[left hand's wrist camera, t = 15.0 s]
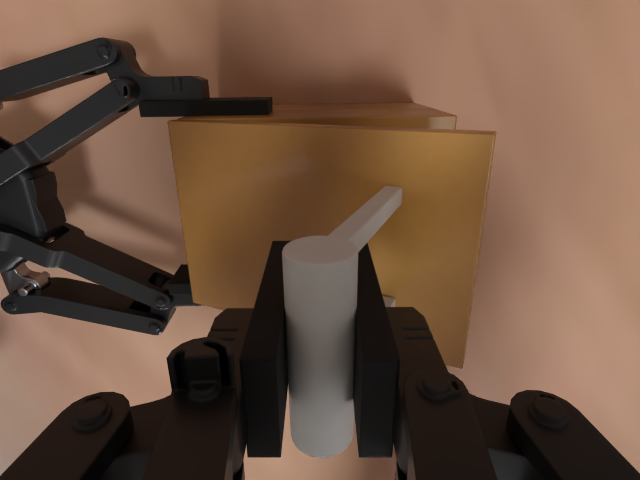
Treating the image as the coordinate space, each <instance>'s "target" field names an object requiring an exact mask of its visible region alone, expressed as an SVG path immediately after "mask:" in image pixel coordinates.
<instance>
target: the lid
mask: <svg viewBox="0 0 640 480" xmlns="http://www.w3.org/2000/svg"><path fill="white" fill-rule="evenodd" d="M168 128H169V135H170V142H171V149H172V156H173V163H174V170H175V177H176V184H177V192H178V199H179V206H180V213H181V220H182V227H183V234H184V241H185V248H186V255H187V262H188V269H189V276H190V283H191V290H192V297H193V303H197V304H201V305H205V306H209V307H213V308H217V309H221V310H225V309H226V308H254V305H255V302H256V298H257V295H258V291H259V287H260V284H261V280H262V277H263V273H264V270H265V266H266V262H267V259H268V255H269V252H270V248H271V245H272V241H291V242H289V243H288V244H286V245H285V246H284V248H283V250H282V263H283V284H284V304H285V324H286V345H287V365H288V385H289V406H290V426H291V437H292V440H293V442H294V444H295V445H296V447H297V448H298V449H299V450H300V451H302V452H303V453H305V454H307V455H309V456H312V457H317V458H328V457H332V456H335V455H338V454H340V453H341V452H343V451H344V450H345V449H346V448H347V447H348V446H349V445H350V443H351V441H352V439H353V435H354V403H353V385H354V355H355V325H356V308H357V281H358V252H359V251H360V250H361V249H362V248H363V247H364V246H365V244H366V243H367V242H368V246H369V250H370V253H371V257H372V260H373V264H374V267H375V271H376V274H377V278H378V282H379V285H380V289H381V292H382V296H383V299H384V303H385V307H414V308H415V309H416V310H417V311H418V312H420V313H421V314H422V315H423V316H424V317H425V319H426V321H427V324H428V326H429V330H430V331H431V333H432V335H433V340H435V342H436V345H437V347H438V349H439V352H440V354H441V356H442V359H443V361H444V363H445V365H449V366H453V367H457V368H463V363H464V357H465V350H466V343H467V336H468V329H469V322H470V315H471V308H472V301H473V294H474V287H475V280H476V273H477V266H478V258H479V251H480V244H481V237H482V230H483V223H484V216H485V209H486V202H487V195H488V188H489V181H490V174H491V167H492V160H493V153H494V145H495V138H496V132H495V131H474V130H448V129H422V128H396V127H370V126H344V125H318V124H292V123H266V122H240V121H215V120H189V119H178V120H171V121H168Z"/></svg>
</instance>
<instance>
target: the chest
mask: <svg viewBox="0 0 640 480" xmlns="http://www.w3.org/2000/svg"><path fill="white" fill-rule="evenodd" d="M272 107H273V111H272V112H271V113H270V114H268V115H235V116H185V117H182V118H179V119H189V120H215V121H240V122H266V123H292V124H318V125H344V126H370V127H396V128H422V129H448V130H455V128H456V119H457V116H456V115H453V114H450V113H446V112H443V111H440V110H436V109H433V108H430V107H426V106H423V105H420V104H416V103H352V104H273V105H272Z"/></svg>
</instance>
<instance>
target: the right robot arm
mask: <svg viewBox="0 0 640 480" xmlns="http://www.w3.org/2000/svg"><path fill="white" fill-rule="evenodd" d="M106 72H107V74H108V76H109V78H110V80H111V81H112V82H111V83H109V84H108V85H106V86H105V87H103V88H102V89H100V90H99V91H97V92H96V93H95V94H93V95H92V96H90V97H89V98H87V99H86V100H84V101H83V102H81V103H80V104H78V105H77V106H75V107H74V108H72V109H71V110H69V111H68V112H66V113H65V114H63V115H62V116H60V117H59V118H57V119H56V120H54V121H53V122H51V123H50V124H48V125H47V126H45V127H44V128H42V129H41V130H39V131H38V132H36V133H35V134H33V135H32V136H30V137H29V138H27V139H26V140H24V141H22V142H20V143H18V144H15V145H14V144H12V143H10V142H9V141H7V140H5V139H4V138H2V137H0V273H1V275H2V278H3V280H4V283H5V285H6V287H7V290H8V292H9V295H8V296H7V297H5V298H4V299H3V300H2V301H1V307H2V308H3V310H4V311H5V312H7V313H9V314H25V313H36V312H43V313H48V314H53V315H58V316H63V317H68V318H73V319H78V320H83V321H88V322H93V323H98V324H102V325H107V326H112V327H117V328H122V329H127V330H132V331H137V332H142V333H147V334H152V335H159V334H161V333H162V332H163V331H164V330H165V328H166V326H167V324H168V323H169V321H170V319H171V318H172V316H173V314H174V312H175V310H176V307H177V306H201V304H197V303H193V297H192V290H191V283H190V276H189V269H188V264H187V265H181V266H180V267H179V269H178V270H177V272H176V273H175V275H172V274H170V273H168V272H166V271H163V270H161V269H159V268H157V267H154V266H152V265H150V264H148V263H145V262H143V261H141V260H139V259H136V258H134V257H132V256H130V255H127V254H125V253H123V252H121V251H118V250H116V249H114V248H112V247H109V246H107V245H105V244H103V243H100V242H98V241H96V240H94V239H91V238H89V237H87V236H85V234H84V231H83V230H81V229H79V228H77V227H75V226H73V225H70V224H68V223H66V222H65V221H66V218H65V214H64V210H63V207H62V206H61V204H60V202H59V200H58V198H57V181H56V177H55V173H54V172H49V170H48V168H47V167H46V166H48V165H50V164H51V163H53V162H54V161H56V160H57V159H59V158H60V157H62V156H63V155H65V154H66V152H67V151H69V150H70V149H72V148H73V147H75V146H76V145H78V144H79V143H81V142H83V141H84V140H86V139H87V138H89V137H90V136H92V135H93V134H95V133H96V132H98V131H99V130H101V129H103V128H104V127H106V126H107V125H109V124H110V123H112V122H113V121H115V120H116V119H118V118H119V117H121V116H123V115H124V114H126V113H127V112H129V111H130V110H132V109H133V108H135V107H136V106H138V105H139V109H140V115H141V117H179V116H235V115H268V114H270V113H271V112H272V111H273V107H272V97H245V98H210V96H209V86H208V80H207V79H204V78H202V77H199V76H167V77H154V76H150V75H147V74H146V73H145V72H144V71H143V70H142V69H141V68H140V66H139V64H138V62H137V60H136V52H135V49H134V48H133V46H132V45H131V44H130V43H128V42H125V41H120V40H114V39H108V38H97V39H94V40H91V41H88V42H85V43H82V44H79V45H76V46H73V47H70V48H66V49H63V50H60V51H57V52H54V53H51V54H48V55H45V56H42V57H39V58H36V59H33V60H30V61H27V62H24V63H21V64H18V65H15V66H12V67H8V68H5V69H2V70H0V110H1V109H2V108H3V103H2V102H5V101H14V100H20V99H24V98H27V97H31V96H34V95H37V94H40V93H43V92H46V91H49V90H53V89H56V88H59V87H62V86H65V85H68V84H71V83H74V82H78V81H81V80H84V79H87V78H90V77H93V76H96V75H100V74H103V73H106ZM52 240H54V241H53V242H50V241H52ZM49 242H50V243H49ZM28 260H29V261H31V262H34V263H36V264H38V265H41V266H43V267H46V268H54V267H59V268H62V269H64V270H66V271H69V272H71V273H73V274H76V275H78V276H80V277H83V278H85V279H87V280H90V281H92V282H94V283H97V284H99V285H97V284H92V283H88V282H83V281H78V280H73V279H68V278H59V277H54V278H50V274H49V273H48V272H45V271H44V272H42V273H40V272H34V271H31V270H30V269H28V268H27V266H26V265H25V262H26V261H28ZM203 306H205V305H203Z"/></svg>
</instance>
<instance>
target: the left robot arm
mask: <svg viewBox="0 0 640 480" xmlns="http://www.w3.org/2000/svg"><path fill="white" fill-rule="evenodd" d="M289 242H291V241H272V245H271V248H270V252H269V255H268V259H267V262H266V266H265V270H264V273H263V277H262V280H261V284H260V287H259V291H258V295H257V298H256V302H255V305H254V308H226V309H225V310H224V311H223V312H222V313H220V314H219V315H218V316H217V317H216V318H215V320H214V322H213V325H212V327H211V331H210V332H209V334H208V336H207V337H204V338H198V339H193V340H190V341H187V342H185V343H182V344H181V345H179V346H178V347H176V348H175V349H174V350H172V351H171V353H170V354H169V356H168V357H167V364H168V370H169V376H170V382H171V388H172V393H171V395H169V396H167V397H165V398H163V399H160V400H157V401H153V402H149V403H145V404H141V405H136V406H132V407H130V404H129V401H128V400H127V398H126V397H125V396H124V395H122V394H119V393H115V392H100V393H96V394H92V395H89V396H86V397H84V398H82V399H80V400H78V401H76V402H74V403H72V404H71V405H70V406H69V407H67V408H66V409H65V410H64V411H62V412H61V413H60V414H59V415H58V416H57V417H56V418H55V420H54V421H53V422H52V423H51V424H50V425H49V426H48V427H47V428H46V429H45V430H44V431H43V432H42V433H41V434H40V435H39V436H38V437H37V438H36V439H35V440H34V441H33V442H32V444H31V445H30V446H29V447H28V448H27V449H26V450H25V451H24V452H23V453H22V454H21V455H20V456H19V457H18V458H17V459H16V460H15V461H14V462H13V463H12V464H11V465H10V466H9V467H8V469H7V470H6V471H5V472H4V473H3V474H2V475H1V476H0V480H245V474H244V463H243V458H244V453H245V448H246V443H247V455H248V457H281V449H282V439H283V430H284V420H285V410H286V400H287V390H288V365H287V345H286V324H285V304H284V284H283V263H282V250H283V248H284V246H285V245H286V244H288V243H289ZM353 403H354V413H355V423H356V433H357V443H358V452H359V457H392V451H393V443H394V448H395V453H396V458H397V463H396V474H395V480H640V473H639V472H638V471H637V470H636V469H635V468H634V467H633V466H632V465H631V464H630V463H629V462H628V461H627V460H626V459H625V458H624V457H623V456H622V455H621V454H620V453H619V452H618V451H617V450H616V449H615V448H614V447H613V446H612V444H611V443H610V442H609V441H608V440H607V439H606V438H605V437H604V436H603V435H602V434H601V433H600V432H599V431H598V430H597V429H596V428H595V427H594V426H593V425H592V424H591V423H590V422H589V421H588V420H587V419H586V418H585V417H584V415H583V414H582V413H581V412H580V411H579V410H578V409H576V408H575V407H574V406H573V405H571V404H570V403H569V402H568V401H566V400H564V399H562V398H560V397H558V396H556V395H554V394H550V393H547V392H543V391H538V390H526V391H522V392H519V393H517V394H516V395H515V396H514V397H513V398H512V399H511V403H510V405H506V404H502V403H498V402H493V401H489V400H485V399H482V398H479V397H476V396H474V395H472V394H470V393H469V392H468V390H467V388H466V387H465V385H464V383H463V382H462V381H461V380H459V379H458V378H457V377H456V376H454V375H453V374H450V373H448V370H447V368H446V366H445V363H444V361H443V359H442V356H441V354H440V352H439V349H438V347H437V345H436V342H435V340H433V335H432V333H431V331H430V330H429V326H428V324H427V321H426V319H425V317H424V316H423V315H422V314H421V313H420V312H418V311H417V310H416V309H415V308H414V307H385V303H384V299H383V296H382V292H381V289H380V285H379V282H378V278H377V274H376V271H375V267H374V264H373V260H372V257H371V253H370V250H369V246H368V242H367V243H366V244H365V246H364V247H363V248H362V249H361V250H360V251H359V252H358V281H357V308H356V325H355V355H354V385H353Z"/></svg>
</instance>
